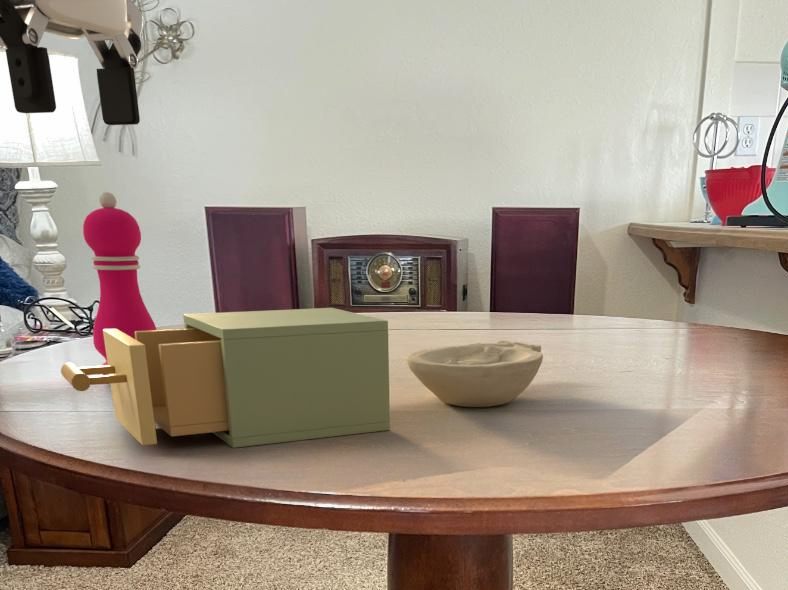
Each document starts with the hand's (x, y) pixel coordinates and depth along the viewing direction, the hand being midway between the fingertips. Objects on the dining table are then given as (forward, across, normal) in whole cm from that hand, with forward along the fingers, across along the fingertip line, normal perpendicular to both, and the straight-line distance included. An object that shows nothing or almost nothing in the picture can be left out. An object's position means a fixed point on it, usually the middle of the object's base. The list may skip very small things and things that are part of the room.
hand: (81, 118), depth 69 cm
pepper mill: (+25, -24, -17) cm, 39 cm away
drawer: (+24, -1, +5) cm, 24 cm away
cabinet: (+25, -8, +12) cm, 29 cm away
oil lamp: (+25, -29, +25) cm, 46 cm away
